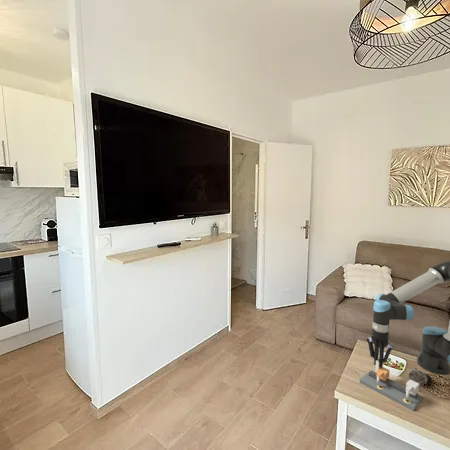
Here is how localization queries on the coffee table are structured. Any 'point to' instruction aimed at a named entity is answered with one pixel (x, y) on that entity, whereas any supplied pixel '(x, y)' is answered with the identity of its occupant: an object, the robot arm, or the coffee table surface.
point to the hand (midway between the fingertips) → (377, 371)
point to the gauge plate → (394, 390)
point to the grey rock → (419, 377)
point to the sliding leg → (382, 374)
